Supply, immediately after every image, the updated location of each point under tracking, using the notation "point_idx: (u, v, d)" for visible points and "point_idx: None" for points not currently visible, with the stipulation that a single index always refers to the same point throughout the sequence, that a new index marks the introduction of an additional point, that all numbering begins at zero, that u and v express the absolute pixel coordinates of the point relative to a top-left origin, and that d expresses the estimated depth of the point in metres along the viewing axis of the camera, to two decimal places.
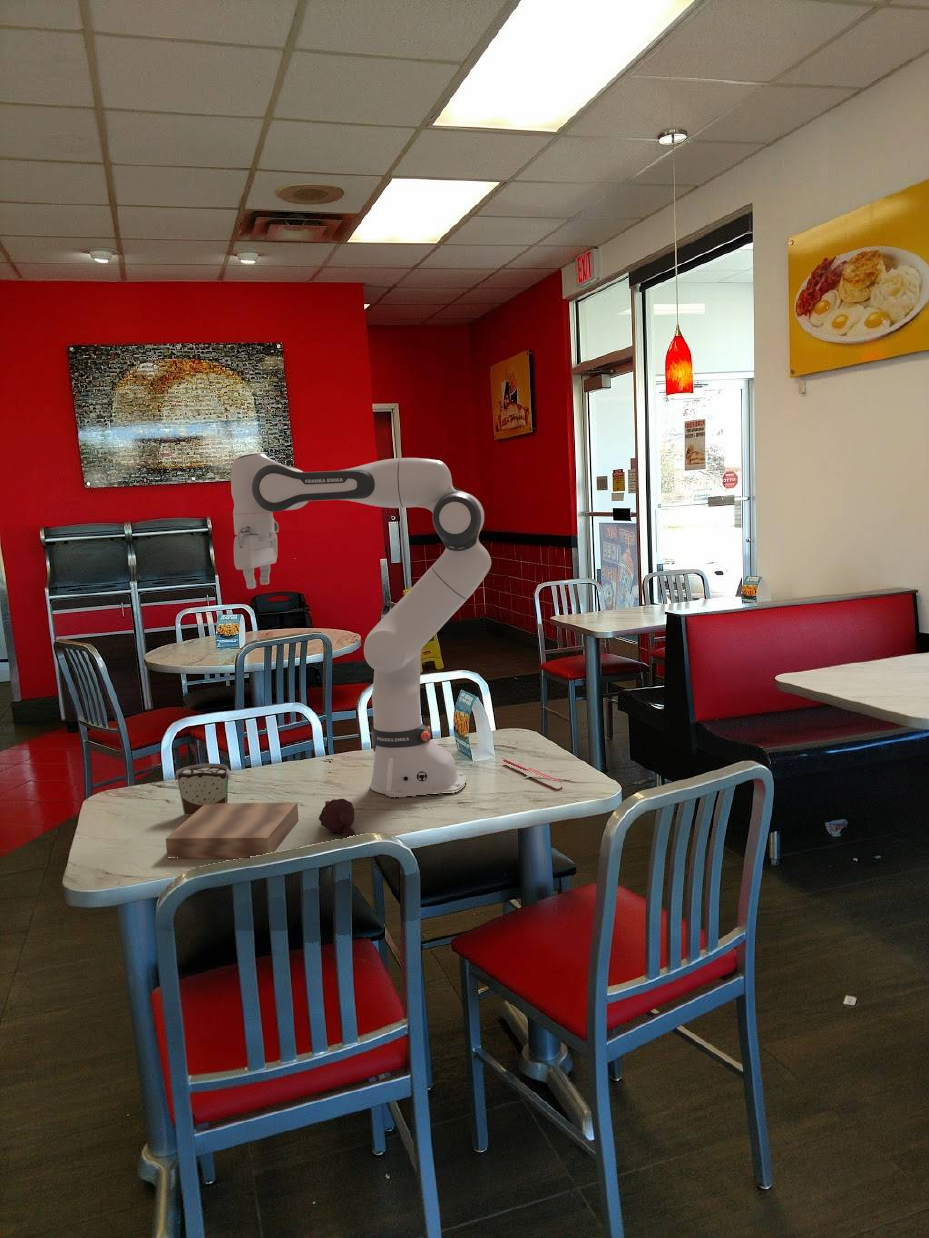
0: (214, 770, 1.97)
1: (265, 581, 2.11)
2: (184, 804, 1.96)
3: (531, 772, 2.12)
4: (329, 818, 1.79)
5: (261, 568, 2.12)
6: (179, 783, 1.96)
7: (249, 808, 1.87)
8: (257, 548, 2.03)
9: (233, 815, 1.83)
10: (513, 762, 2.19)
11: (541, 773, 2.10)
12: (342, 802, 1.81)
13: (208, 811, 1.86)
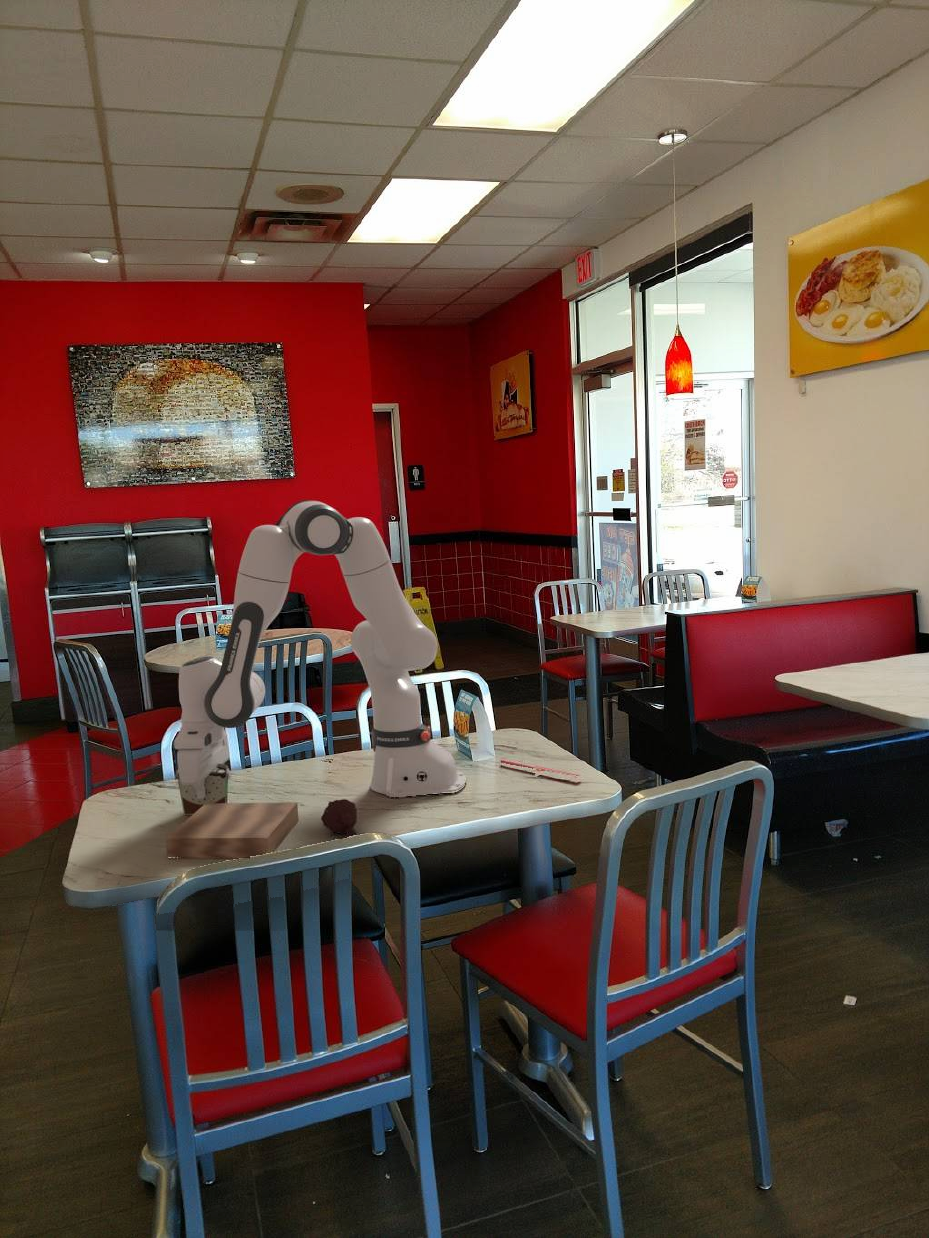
0: (214, 770, 1.98)
1: None
2: (184, 803, 1.96)
3: (541, 770, 2.13)
4: (331, 818, 1.79)
5: None
6: (179, 783, 1.96)
7: (249, 808, 1.87)
8: None
9: (233, 815, 1.83)
10: (514, 762, 2.19)
11: None
12: (344, 803, 1.81)
13: (208, 811, 1.86)
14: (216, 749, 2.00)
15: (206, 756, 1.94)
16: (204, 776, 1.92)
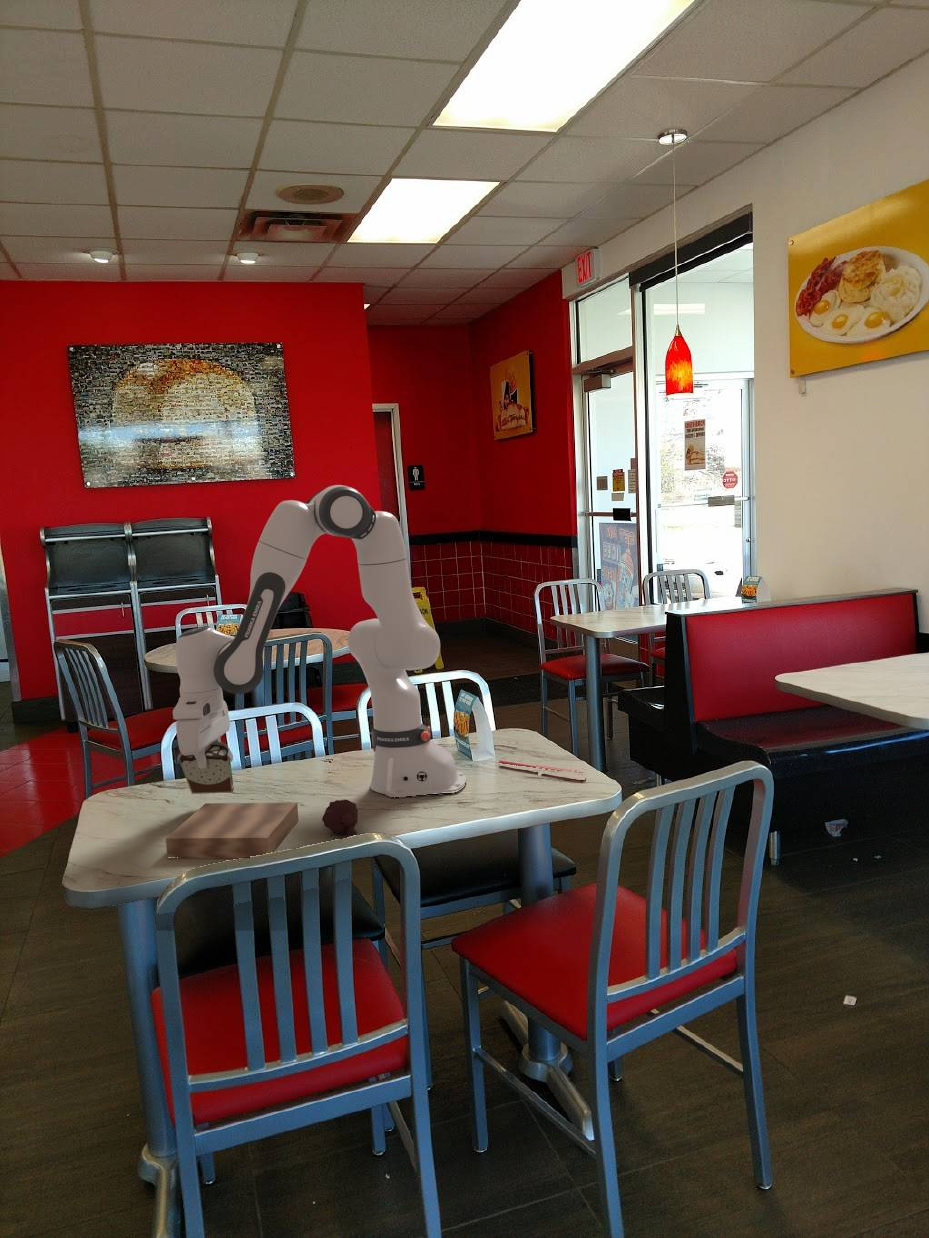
0: (215, 750, 1.98)
1: None
2: (190, 784, 1.98)
3: None
4: (332, 819, 1.78)
5: None
6: (182, 766, 1.97)
7: (249, 808, 1.87)
8: None
9: (233, 815, 1.83)
10: (514, 762, 2.19)
11: (556, 768, 2.13)
12: (345, 803, 1.81)
13: (208, 811, 1.86)
14: (216, 720, 2.00)
15: (205, 726, 1.93)
16: (204, 746, 1.91)
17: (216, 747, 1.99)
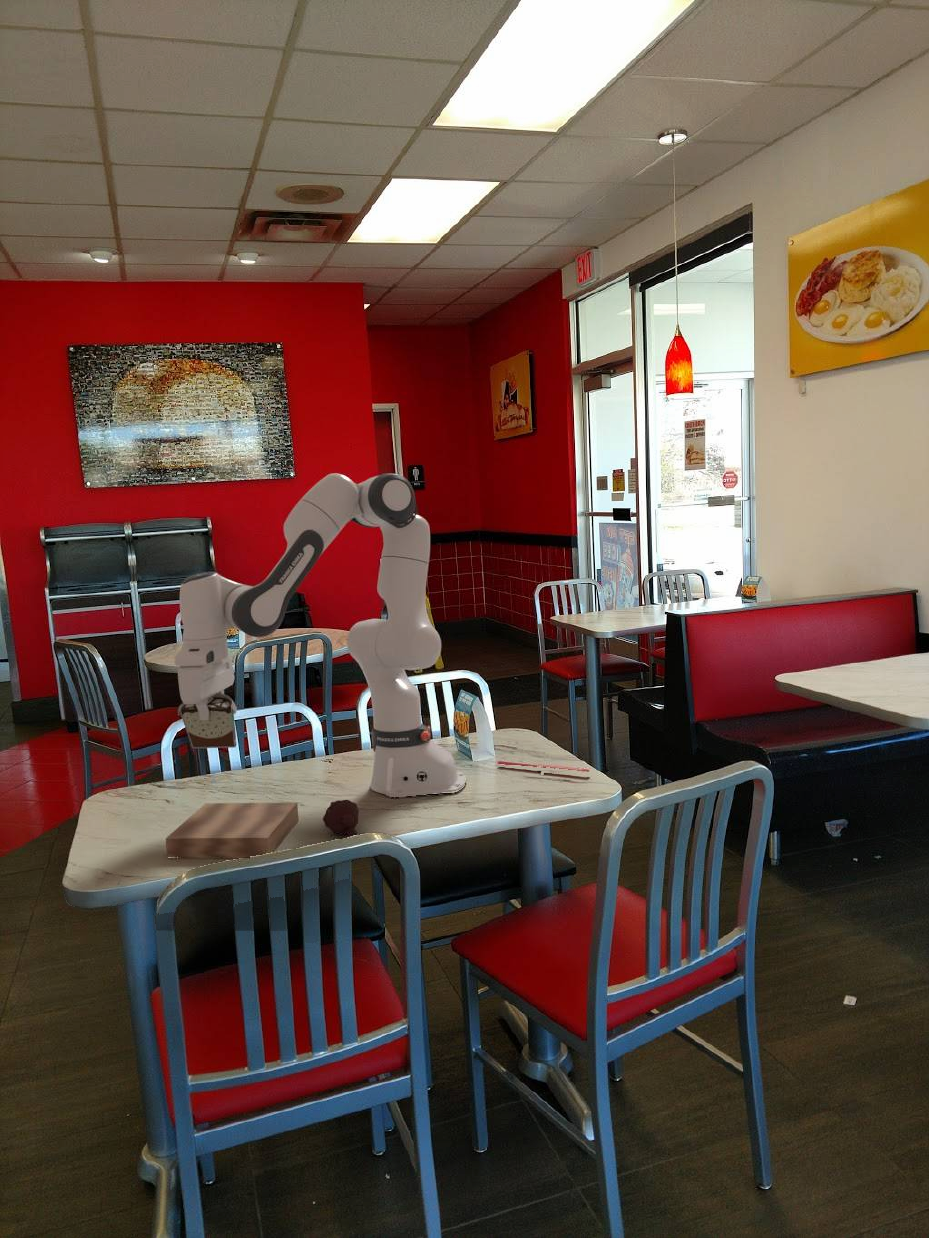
0: (218, 702, 1.89)
1: None
2: (191, 738, 1.89)
3: None
4: (332, 819, 1.78)
5: None
6: (183, 718, 1.88)
7: (249, 808, 1.87)
8: None
9: (233, 815, 1.83)
10: (514, 762, 2.19)
11: (558, 766, 2.14)
12: (346, 803, 1.80)
13: (208, 811, 1.86)
14: (220, 671, 1.91)
15: (208, 676, 1.84)
16: (206, 696, 1.82)
17: (219, 699, 1.90)
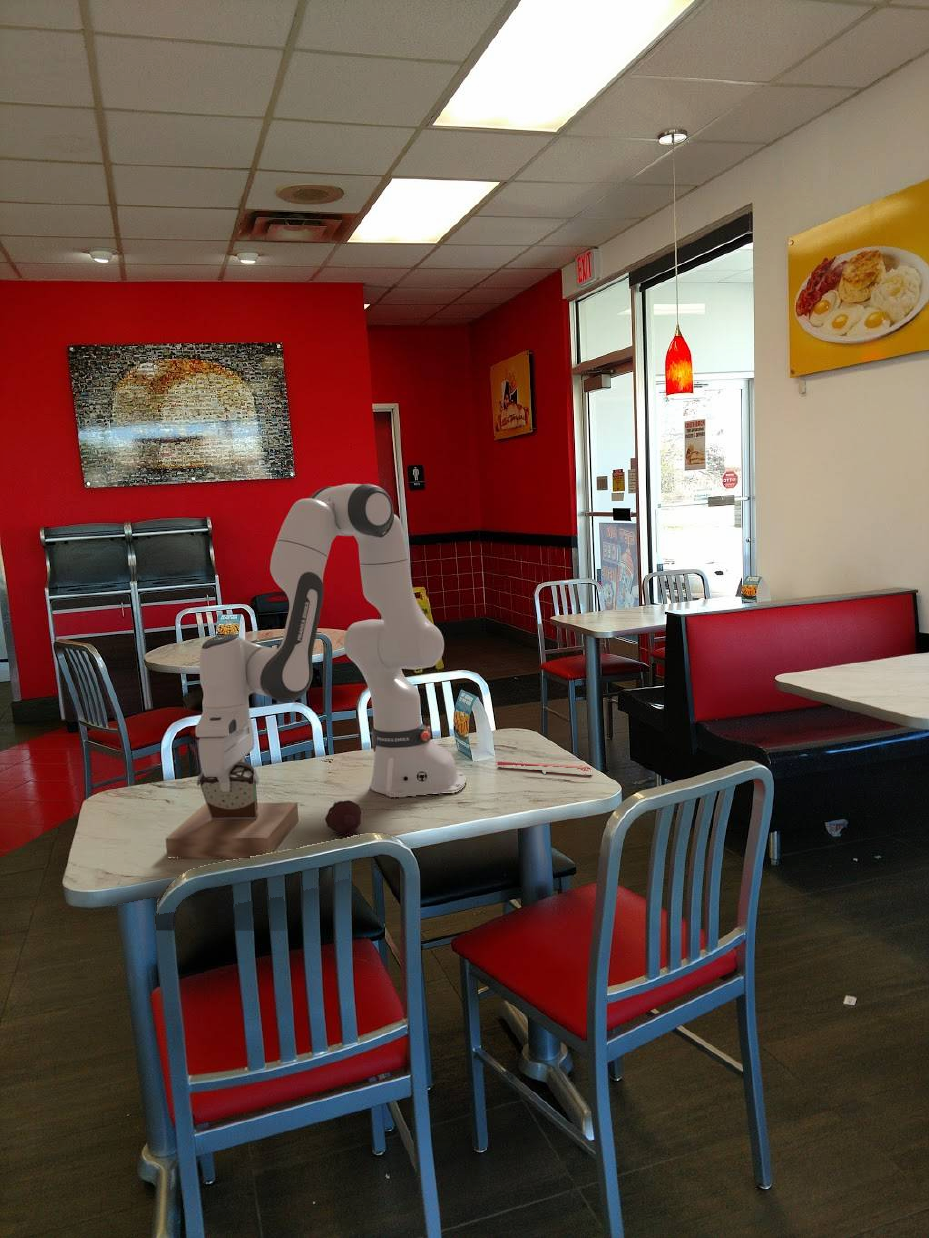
0: (239, 771, 1.79)
1: None
2: (210, 808, 1.80)
3: None
4: (334, 820, 1.78)
5: None
6: (202, 789, 1.78)
7: None
8: None
9: None
10: (515, 762, 2.19)
11: (560, 765, 2.15)
12: (348, 804, 1.80)
13: (208, 811, 1.86)
14: (241, 738, 1.81)
15: (230, 745, 1.75)
16: (228, 767, 1.73)
17: (240, 768, 1.80)
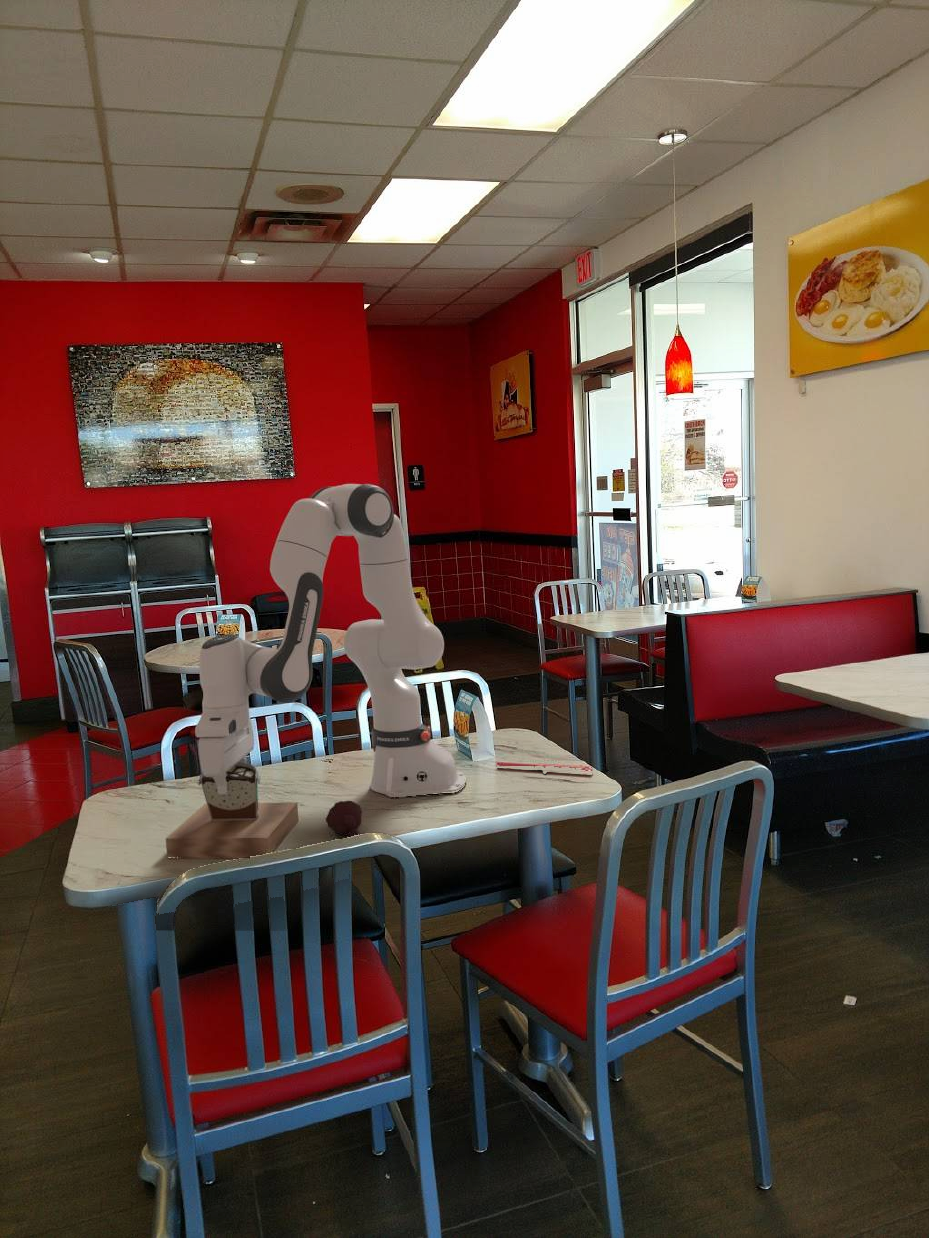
0: (241, 771, 1.80)
1: None
2: (210, 809, 1.80)
3: None
4: (335, 820, 1.78)
5: None
6: (203, 788, 1.78)
7: None
8: None
9: None
10: (514, 762, 2.19)
11: (560, 765, 2.15)
12: (349, 804, 1.80)
13: (208, 811, 1.86)
14: (241, 738, 1.81)
15: (229, 745, 1.75)
16: (228, 767, 1.73)
17: (241, 769, 1.81)
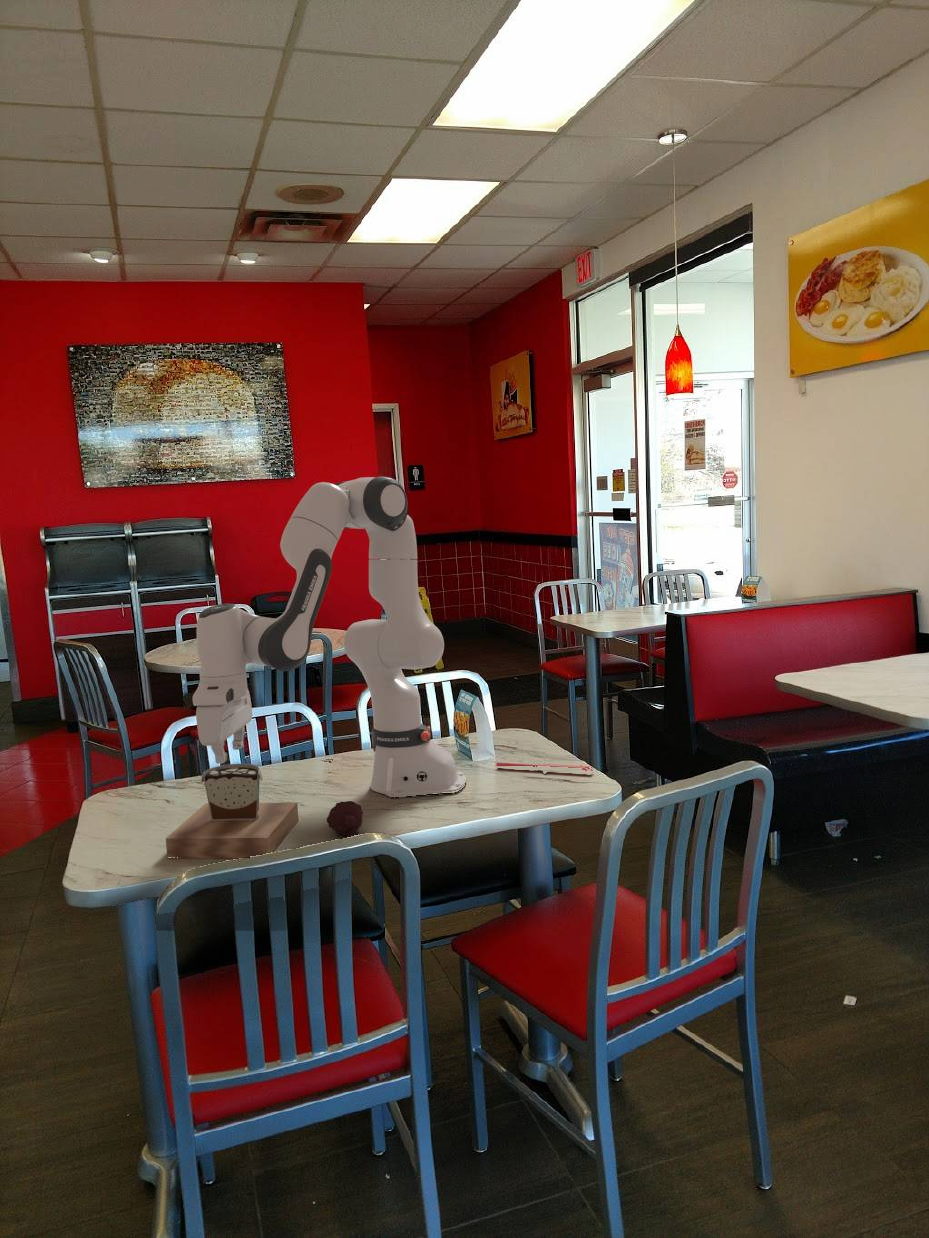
0: (244, 771, 1.82)
1: None
2: (211, 808, 1.80)
3: None
4: (335, 820, 1.77)
5: None
6: (206, 786, 1.80)
7: None
8: None
9: None
10: (514, 763, 2.18)
11: (560, 765, 2.15)
12: (349, 804, 1.80)
13: (208, 811, 1.86)
14: (238, 708, 1.80)
15: (227, 715, 1.74)
16: (226, 736, 1.72)
17: (244, 769, 1.83)
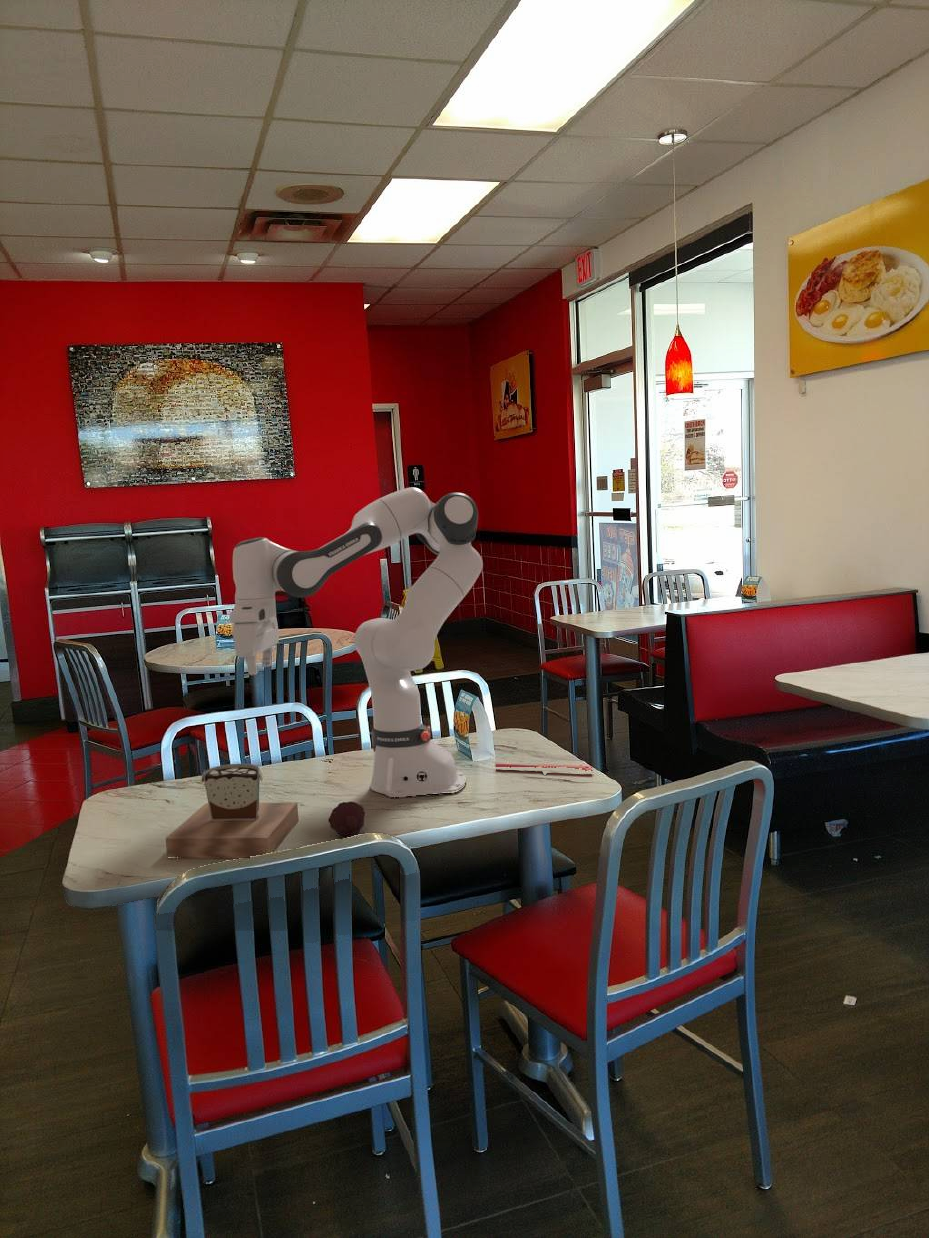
0: (244, 771, 1.82)
1: None
2: (211, 808, 1.80)
3: None
4: (337, 821, 1.77)
5: None
6: (206, 786, 1.80)
7: None
8: None
9: None
10: None
11: (560, 765, 2.15)
12: (351, 805, 1.79)
13: (208, 811, 1.86)
14: (268, 630, 2.07)
15: (259, 633, 2.00)
16: (258, 651, 1.98)
17: (244, 769, 1.83)
